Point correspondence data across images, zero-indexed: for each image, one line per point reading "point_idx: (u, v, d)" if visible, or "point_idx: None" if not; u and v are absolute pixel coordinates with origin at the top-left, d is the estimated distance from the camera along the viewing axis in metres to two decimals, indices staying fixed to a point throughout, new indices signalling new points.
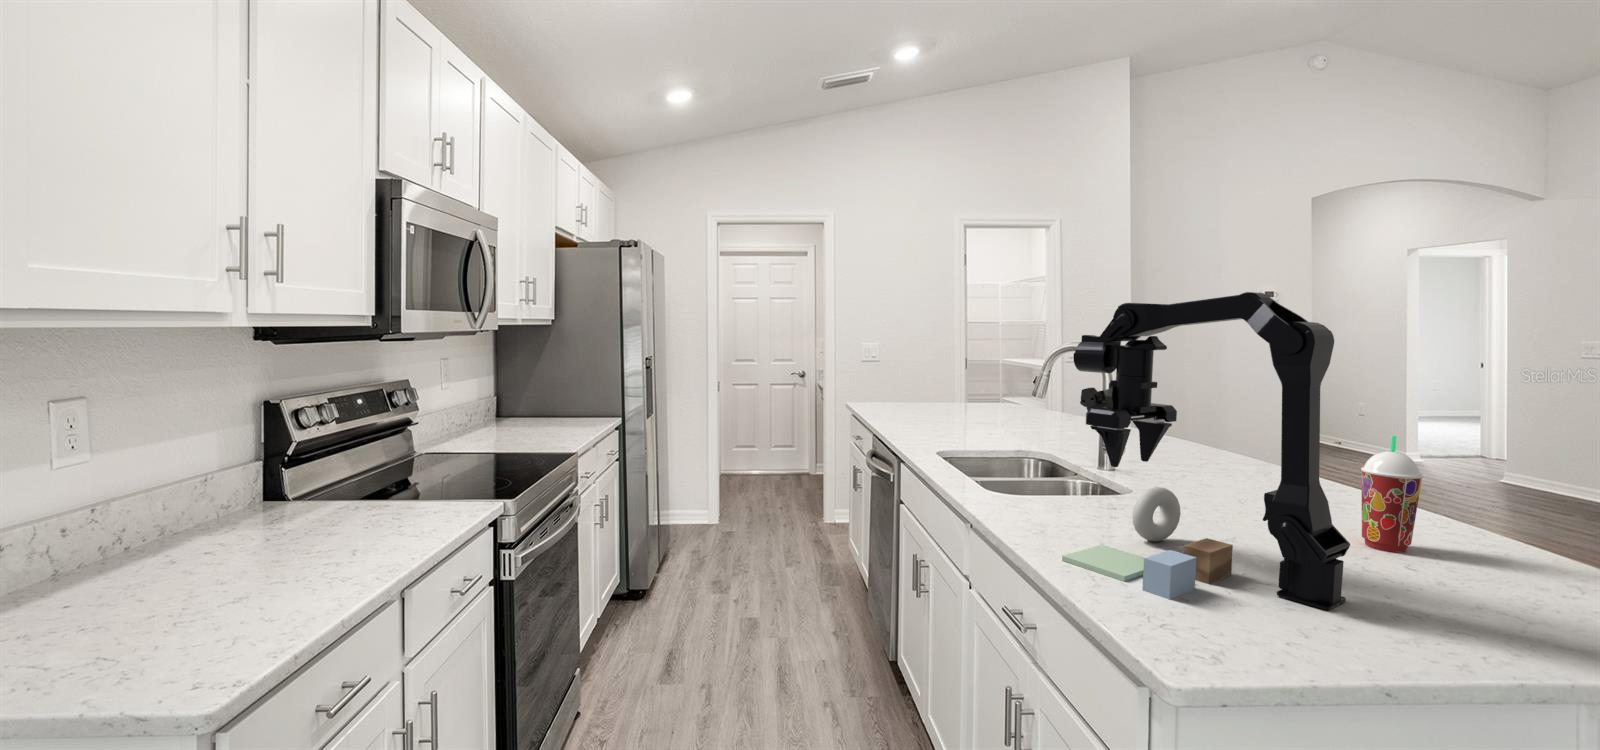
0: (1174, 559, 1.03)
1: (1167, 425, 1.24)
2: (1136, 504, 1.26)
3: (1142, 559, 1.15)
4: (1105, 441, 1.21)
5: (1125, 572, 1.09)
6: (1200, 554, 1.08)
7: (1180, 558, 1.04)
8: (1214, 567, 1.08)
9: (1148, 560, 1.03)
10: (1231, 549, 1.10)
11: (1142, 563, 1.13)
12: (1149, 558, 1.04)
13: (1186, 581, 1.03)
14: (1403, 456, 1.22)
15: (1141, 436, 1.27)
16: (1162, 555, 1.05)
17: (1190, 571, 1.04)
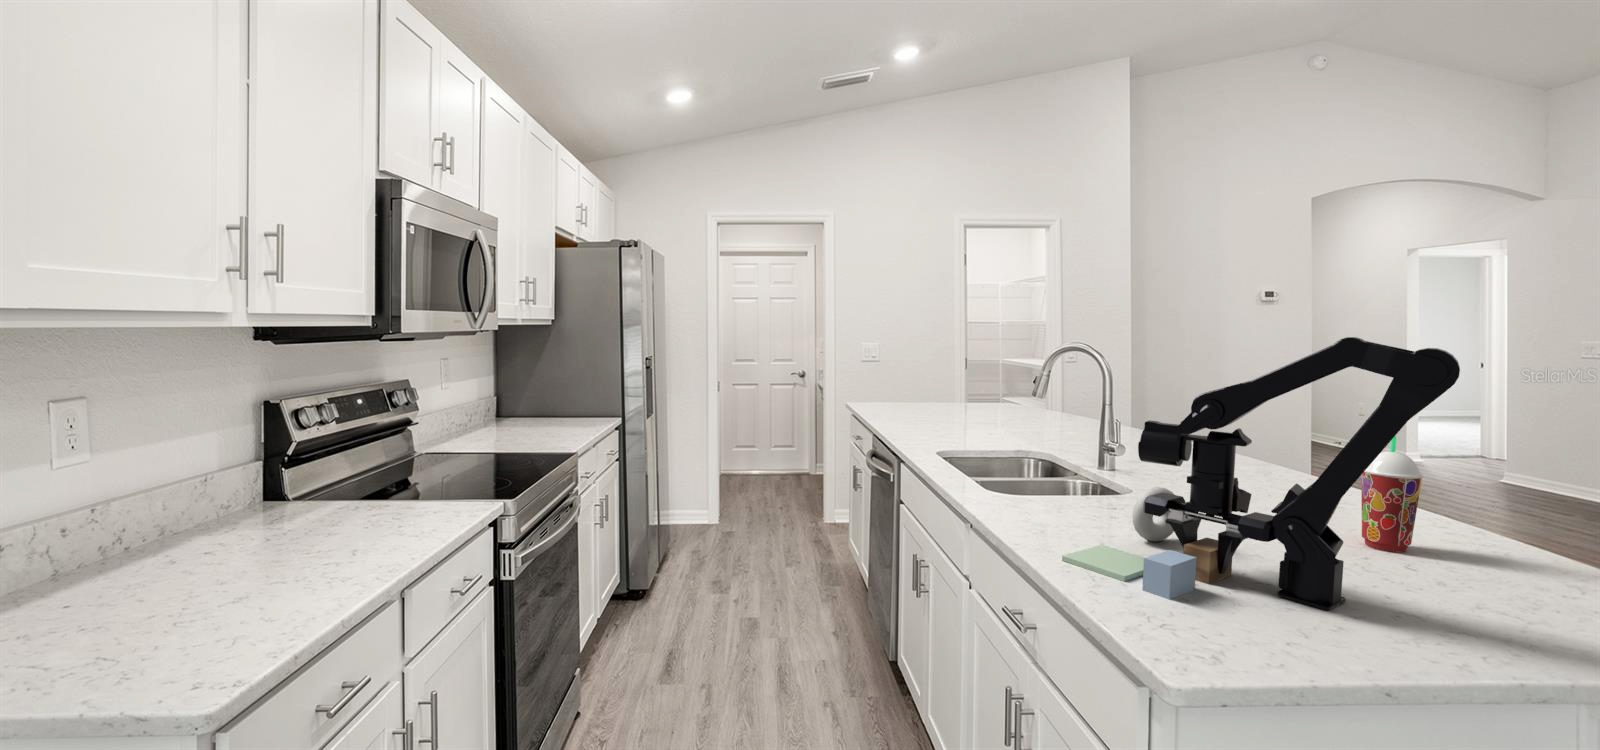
0: (1174, 559, 1.03)
1: (1225, 536, 1.05)
2: (1136, 504, 1.26)
3: (1142, 559, 1.15)
4: None
5: (1125, 572, 1.09)
6: (1200, 553, 1.08)
7: (1180, 558, 1.04)
8: (1214, 566, 1.08)
9: (1148, 560, 1.03)
10: None
11: (1142, 563, 1.13)
12: (1149, 558, 1.04)
13: (1186, 581, 1.03)
14: (1403, 456, 1.22)
15: None
16: (1162, 555, 1.05)
17: (1190, 571, 1.04)
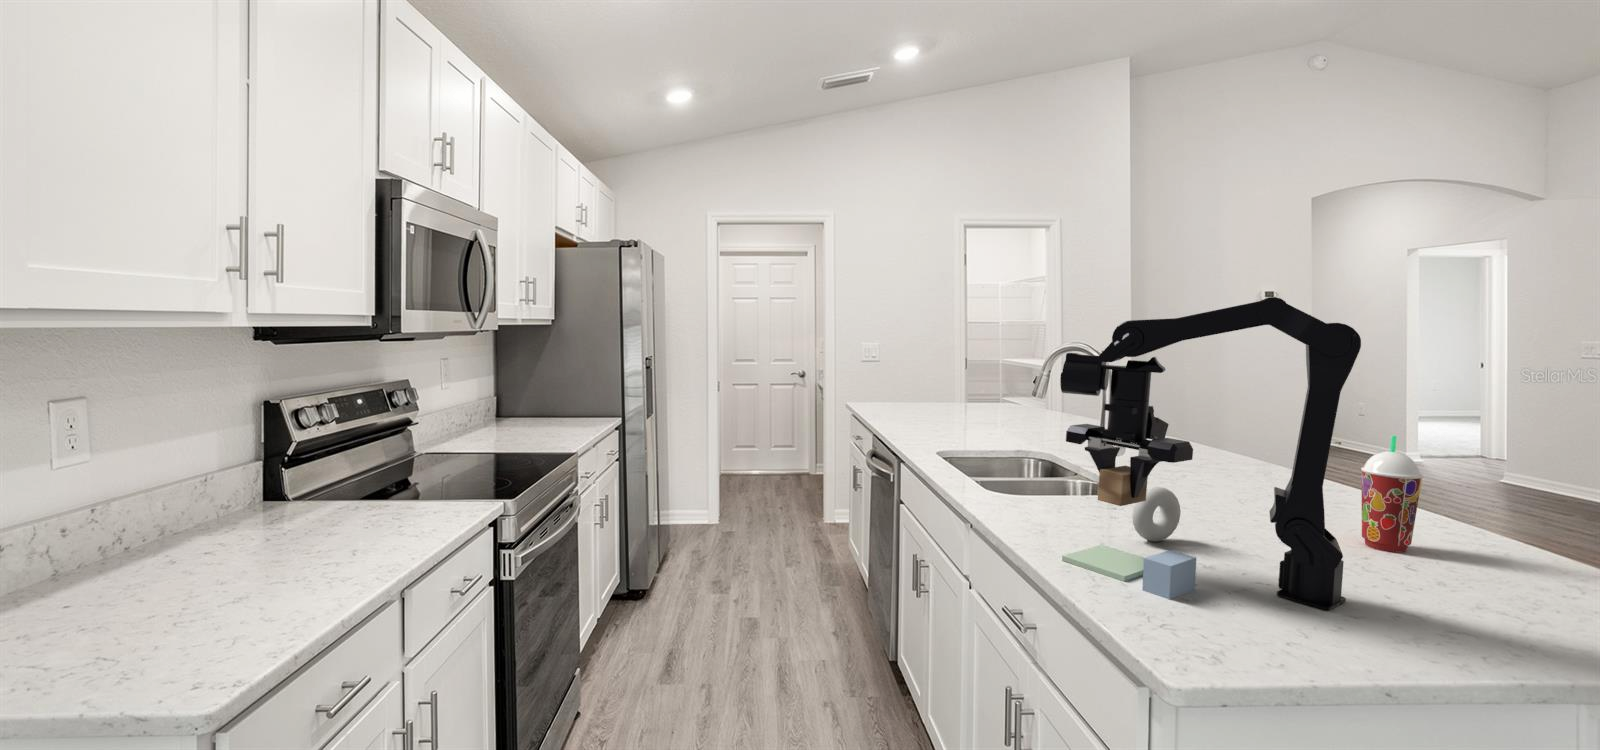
0: (1174, 559, 1.03)
1: (1136, 459, 1.09)
2: (1136, 504, 1.26)
3: (1142, 559, 1.15)
4: None
5: (1125, 572, 1.09)
6: (1114, 477, 1.11)
7: (1180, 558, 1.04)
8: (1127, 489, 1.11)
9: (1148, 560, 1.03)
10: None
11: (1142, 563, 1.13)
12: (1149, 558, 1.04)
13: (1186, 581, 1.03)
14: (1403, 456, 1.22)
15: None
16: (1162, 555, 1.05)
17: (1190, 571, 1.04)
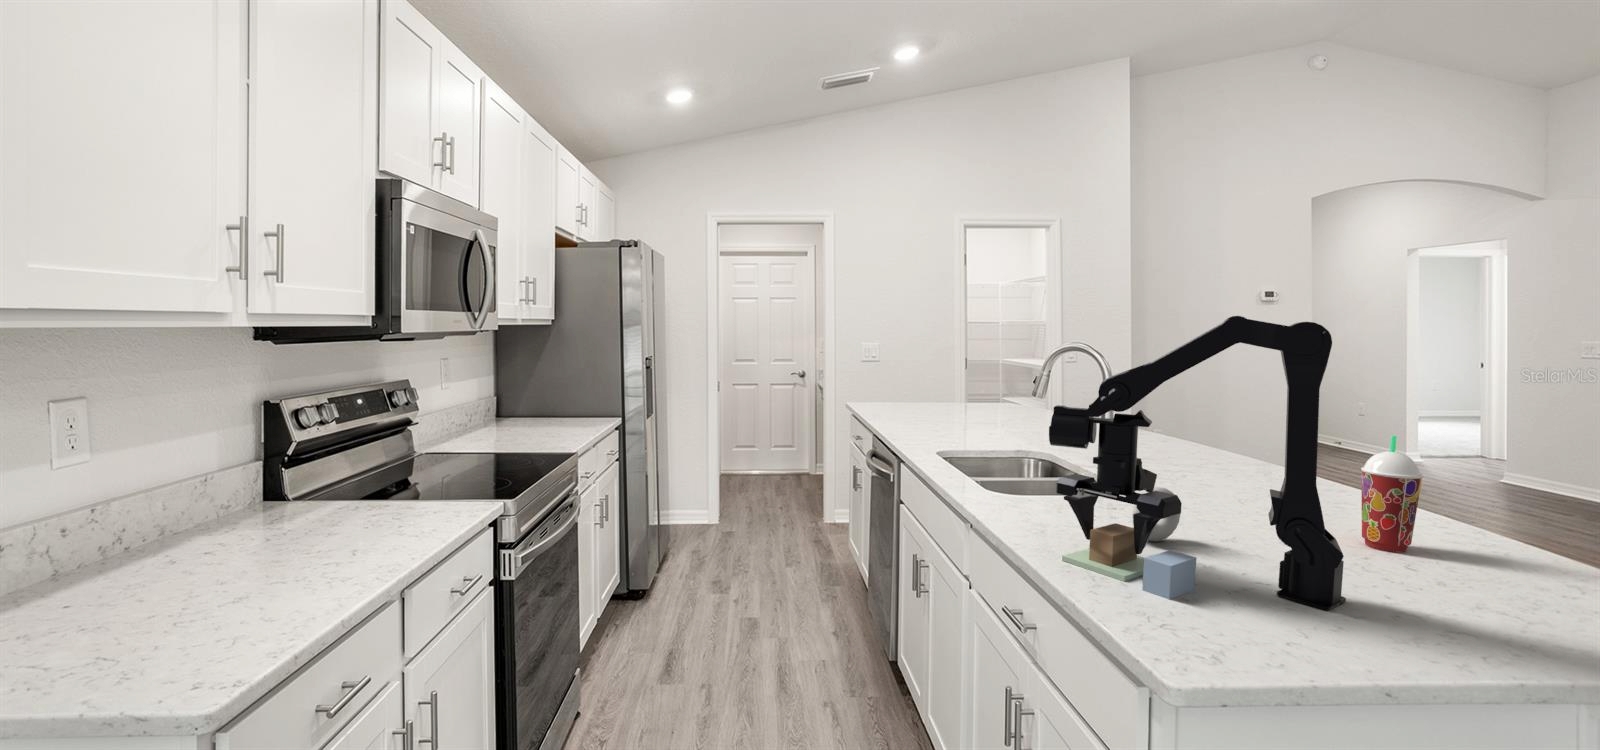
0: (1174, 559, 1.03)
1: (1139, 516, 1.08)
2: None
3: (1142, 559, 1.15)
4: None
5: (1125, 572, 1.09)
6: (1104, 538, 1.12)
7: (1180, 558, 1.04)
8: (1118, 550, 1.12)
9: (1148, 560, 1.03)
10: None
11: (1142, 563, 1.13)
12: (1149, 558, 1.04)
13: (1186, 581, 1.03)
14: (1403, 456, 1.22)
15: None
16: (1162, 555, 1.05)
17: (1190, 571, 1.04)
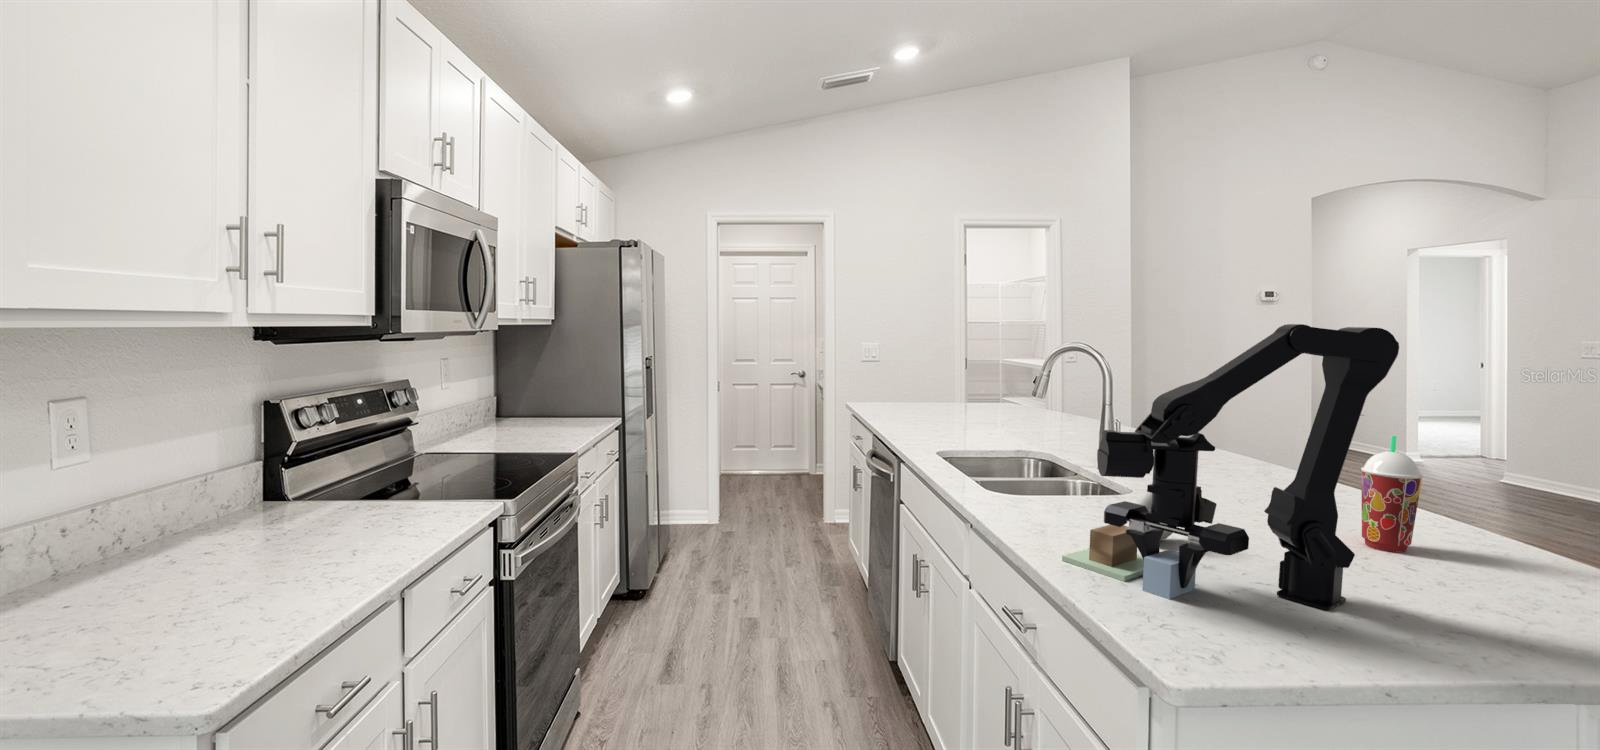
0: (1174, 558, 1.03)
1: (1186, 548, 0.99)
2: None
3: (1142, 559, 1.15)
4: None
5: (1125, 572, 1.09)
6: (1104, 538, 1.12)
7: None
8: (1118, 550, 1.12)
9: (1148, 559, 1.03)
10: None
11: (1142, 563, 1.13)
12: (1149, 557, 1.04)
13: None
14: (1403, 456, 1.22)
15: None
16: (1162, 554, 1.05)
17: None
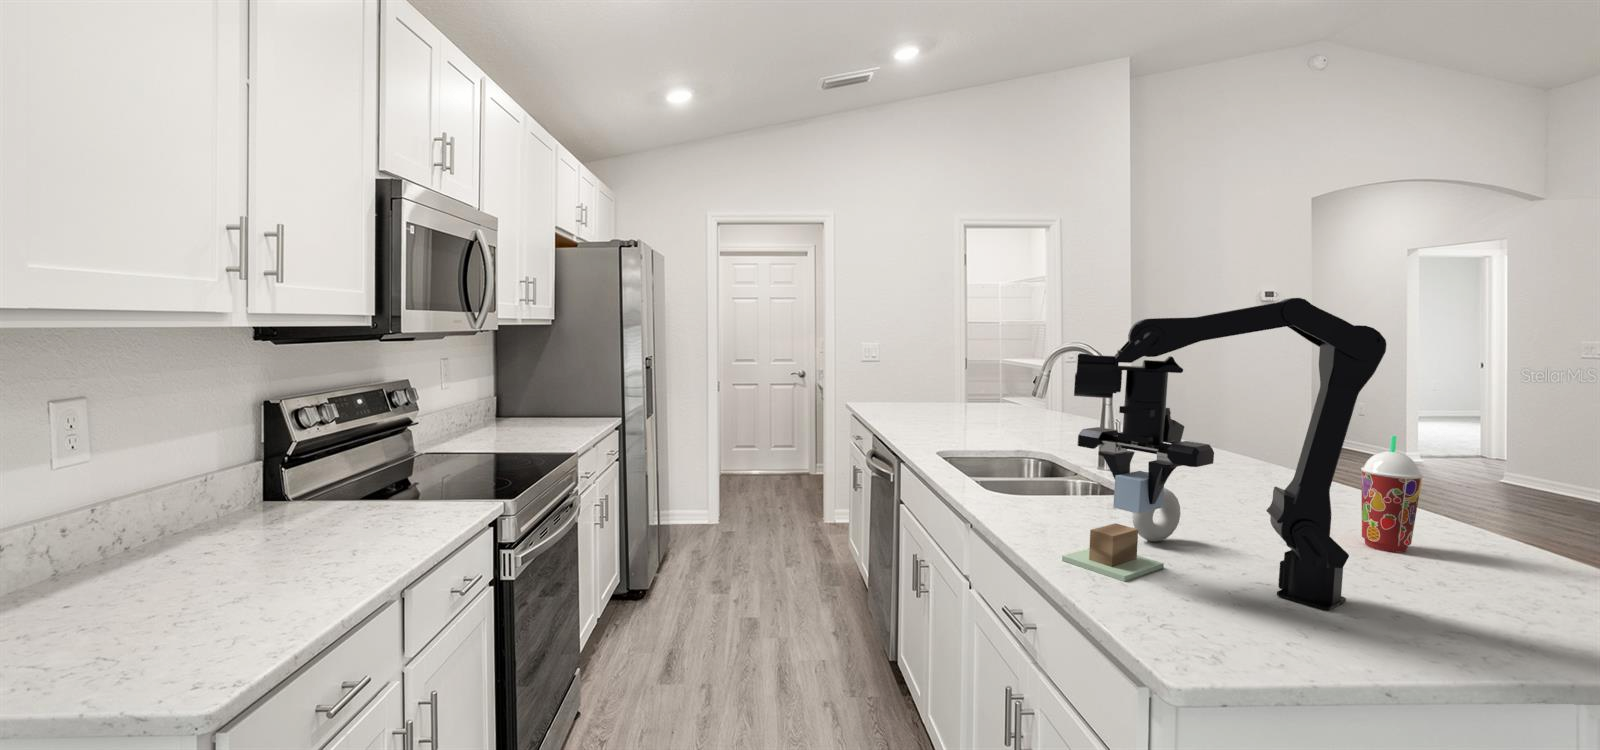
0: (1144, 476, 1.08)
1: (1155, 464, 1.04)
2: None
3: (1142, 559, 1.15)
4: None
5: (1125, 572, 1.09)
6: (1104, 538, 1.12)
7: None
8: (1118, 550, 1.12)
9: (1119, 477, 1.08)
10: (1136, 533, 1.15)
11: (1142, 563, 1.13)
12: (1120, 475, 1.08)
13: None
14: (1403, 456, 1.22)
15: None
16: (1132, 474, 1.10)
17: None
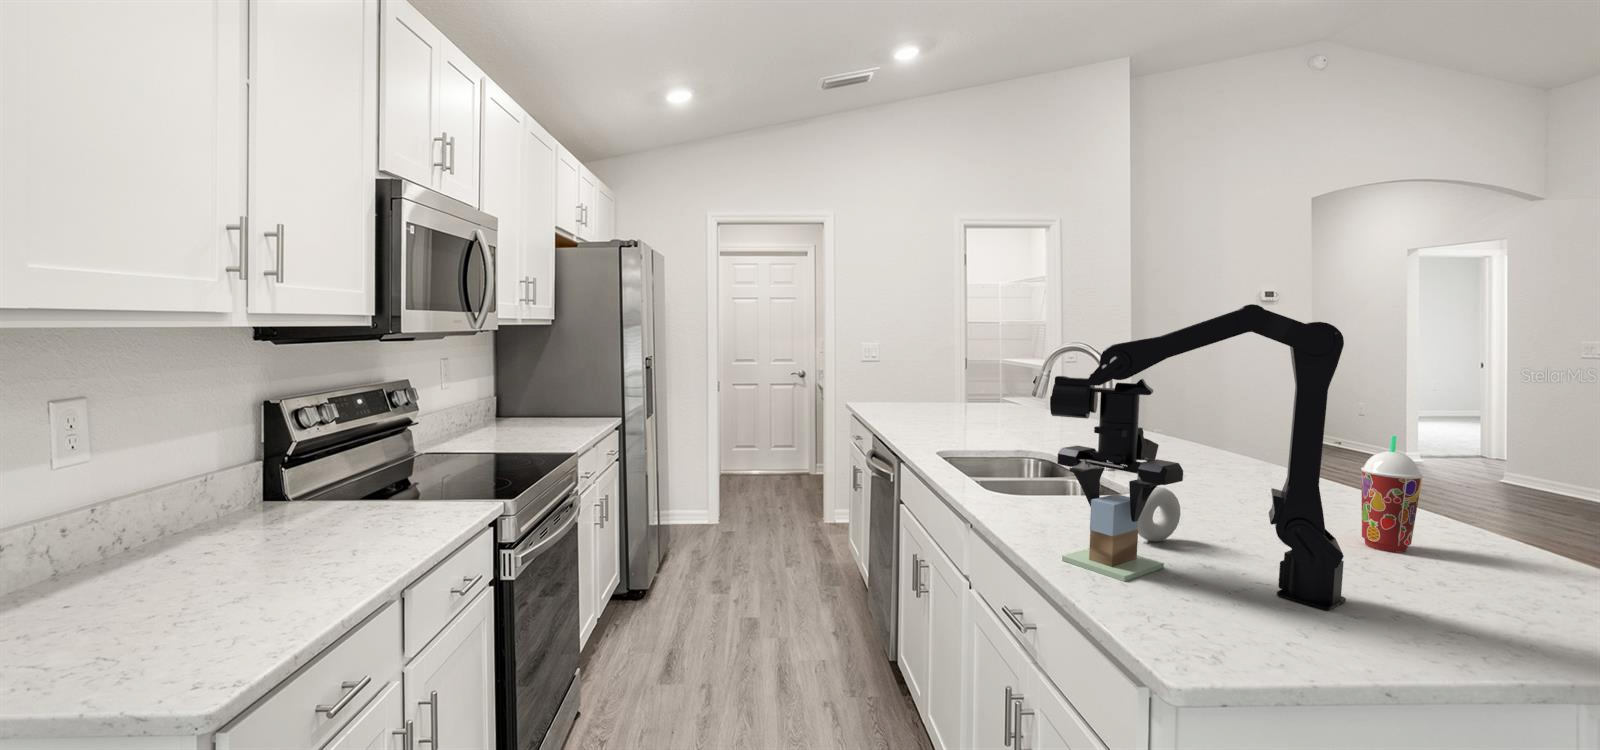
0: (1118, 500, 1.14)
1: (1135, 483, 1.08)
2: None
3: (1142, 559, 1.15)
4: None
5: (1125, 572, 1.09)
6: (1104, 538, 1.12)
7: (1124, 499, 1.14)
8: (1118, 550, 1.12)
9: (1095, 501, 1.13)
10: (1136, 533, 1.15)
11: (1142, 563, 1.13)
12: (1096, 499, 1.14)
13: (1129, 520, 1.13)
14: (1403, 456, 1.22)
15: None
16: (1108, 497, 1.15)
17: None
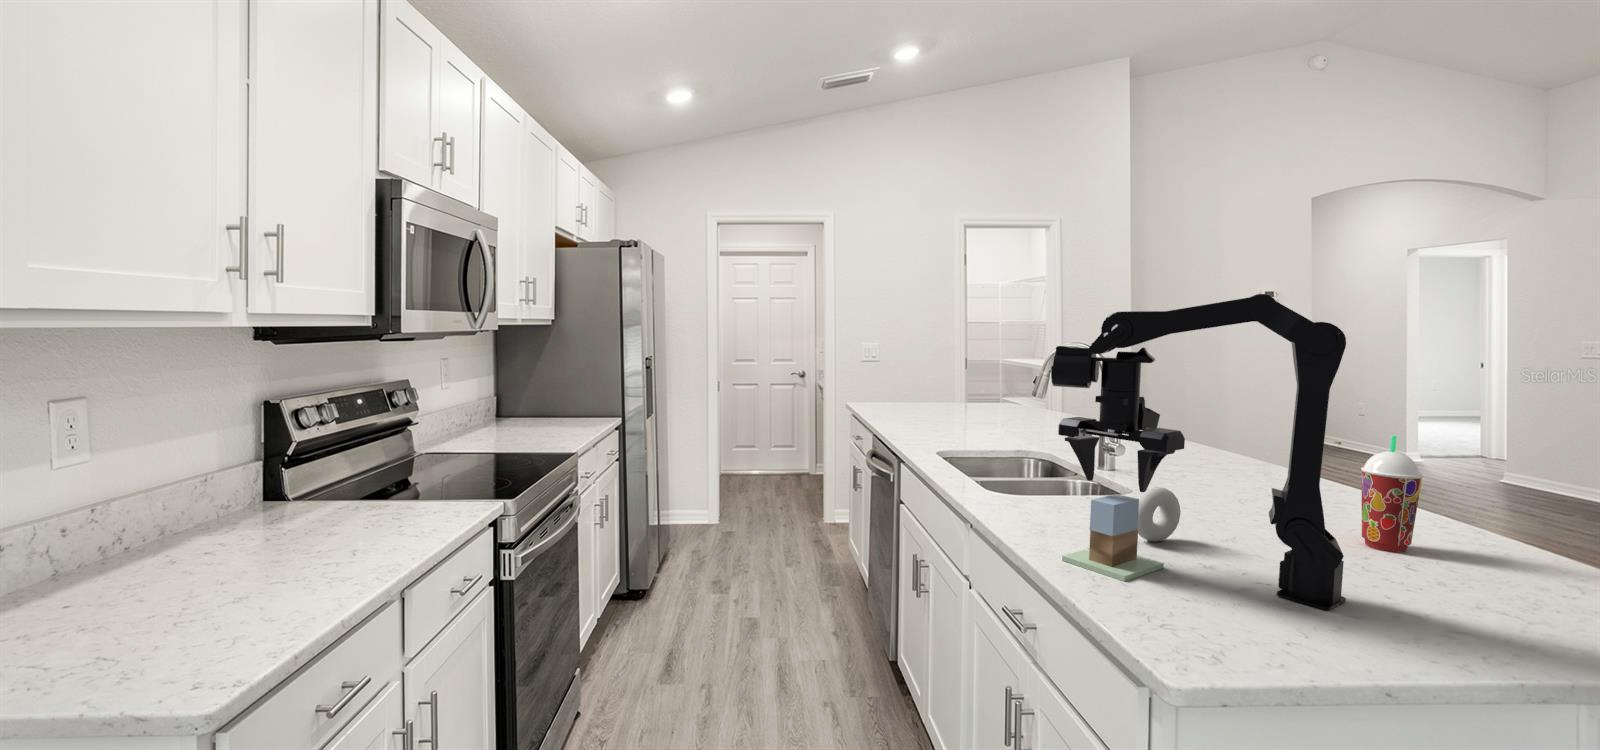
0: (1118, 500, 1.14)
1: (1143, 452, 1.07)
2: None
3: (1142, 559, 1.15)
4: None
5: (1125, 572, 1.09)
6: (1104, 538, 1.12)
7: (1124, 499, 1.14)
8: (1118, 550, 1.12)
9: (1095, 501, 1.13)
10: (1136, 533, 1.15)
11: (1142, 563, 1.13)
12: (1096, 499, 1.14)
13: (1129, 520, 1.13)
14: (1403, 456, 1.22)
15: None
16: (1108, 497, 1.15)
17: (1133, 511, 1.14)
